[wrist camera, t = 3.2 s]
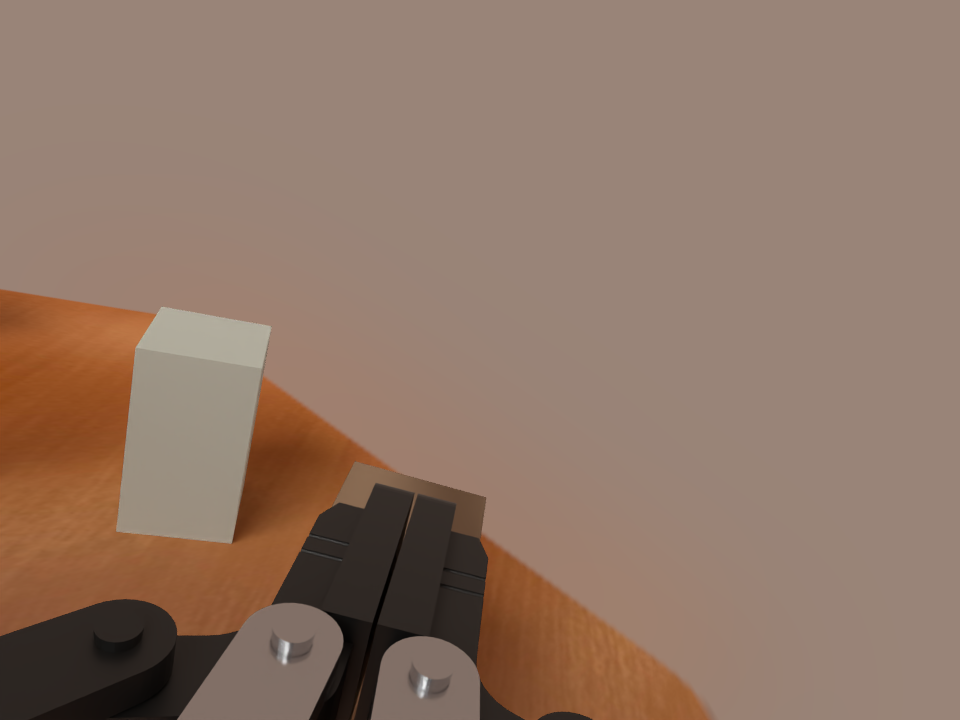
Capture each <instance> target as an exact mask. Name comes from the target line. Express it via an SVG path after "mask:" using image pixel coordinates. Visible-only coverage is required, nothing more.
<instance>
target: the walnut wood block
mask: <svg viewBox="0 0 960 720" xmlns="http://www.w3.org/2000/svg"><path fill="white" fill-rule="evenodd" d="M375 483H379V484H383V485H387V486H391V487H395V488H398V489H402V490H406V491H410V492H414V493H415V494H414V499H413V503H412V507H411V511H410V515H409V520H408V524H409V521H410V518H411V514H412V511H413V508H414V505H415V501H416V498H417V495H418V494H422V495H426V496H430V497H434V498H438V499H442V500H446V501H450V502H453V503H457V505H456V510H455V515H454V519H453V524H452V529H451V531H453V532H457V533H461V534H465V535H469V536H473V537H477V538H479V540H480V538H481V531H482V523H483V516H484V510H485V503H486V497H482V496H479V495H475V494H471V493H468V492H464V491H461V490H457V489H453V488H450V487H446V486H442V485H439V484H435V483H432V482H428V481H424V480H421V479H417V478H414V477H410V476H407V475H403V474H399V473H396V472H392V471H388V470H385V469H381V468H378V467H374V466H370V465H367V464H363V463H360V462H356V461H355V462H354V464H353V466H352V468H351V470H350V472H349V474H348V476H347V478H346V480H345V482H344V484H343V486H342V488H341V490H340V492H339V494H338V496H337V498H336V500H335V502H334V504H333V506H334V505H336V504H337V503H339V502H340V503H344V504H348V505H352V506H355V507H359V508H363V509H364V508H365V506H366V503H367V501H368V499H369V497H370V494H371V492H372V490H373V487H374V485H375ZM333 506H332V507H333ZM408 524H407V527H408ZM406 530H407V528H406ZM405 534H406V532H405ZM404 537H405V536H404ZM364 677H365V676H364ZM363 681H364V679H363ZM362 685H363V682H362ZM361 689H362V686H361ZM361 689H360V692H359V696H358V699H357V702H356V705H355V709H354V712H353V715H352V718H351V720H354V718H355V714H356V710H357V705H358V701H359V697H360V693H361Z"/></svg>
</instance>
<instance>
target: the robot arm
mask: <svg viewBox="0 0 960 720" xmlns="http://www.w3.org/2000/svg"><path fill="white" fill-rule="evenodd" d="M414 494H415V493H414V492H410V491H406V490H402V489H398V488H395V487H391V486H387V485H383V484H379V483H375V485H374V487H373V490H372V492H371V494H370V497H369V499H368V501H367V503H366V506H365V508H364V509H363V508H359V507H355V506H352V505H348V504H344V503H340V502H339V503H337V504H336V505H334V506H333V507H331V508H330V509H328V510H326V511H325V512H323V513H322V514H320V515H319V517H318V518H317V520H316V522H315V524H314V526H313V528H312V530H311V532H310V534H309V537H307V539H306V541H305V543H304V545H303V547H302V549H301V552H299V554H298V556H297V558H296V560H295V562H294V563H293V565H292V567H291V569H290V571H289V573H288V575H287V577H286V578H285V580H284V582H283V584H282V586H281V588H280V590H279V592H278V593H277V595H276V597H275V599H274V601H273V603H272V605H271V606H268V607H265V608H262V609H260V610H259V611H257V612H255V613H254V614H253V615H251V616H250V617H249V618H248V619H247V620H246V622H245V623H244V624H243V626H242V627H241V629H240V630H239V631H236V632H232V633H228V634H222V635H210V636H177V628H176V625H175V622H174V620H173V619H172V617H171V616H170V615H169V614H168V613H167V612H166V611H165V610H163V609H162V608H160V607H158V606H156V605H154V604H151V603H148V602H145V601H139V600H128V599H123V600H112V601H106V602H102V603H98V604H95V605H92V606H89V607H86V608H83V609H80V610H77V611H74V612H71V613H68V614H65V615H62V616H59V617H56V618H53V619H50V620H47V621H44V622H41V623H38V624H35V625H32V626H29V627H26V628H23V629H20V630H17V631H14V632H11V633H9V634H6V635H3V636H0V720H351V718H352V715H353V712H354V709H355V705H356V702H357V699H358V696H359V692H360V689H361V686H362V689H361V693H360V697H359V701H358V705H357V710H356V714H355V718H354V720H524V719H523V718H521V717H519V716H517V715H515V714H514V713H512V712H510V711H509V710H507V709H506V708H504V707H503V706H502V705H500V704H499V703H498V702H497V701H496V700H495V699H494V698H493V697H492V696H491V695H490V694H489V693H488V692H487V690H486V689H485V688H484V686H483V684H482V682H481V681H480V678H479V673H478V670H477V666H476V661H477V651H478V642H479V633H480V625H481V616H482V607H483V596H484V590H485V579H486V572H487V564H488V557H487V555H486V553H485V550H484V548H483V546H482V544H481V542H480V540H479V538H477V537H473V536H469V535H465V534H461V533H457V532H453V531H451V529H452V524H453V519H454V515H455V510H456V505H457V503H453V502H450V501H446V500H442V499H438V498H434V497H430V496H426V495H422V494H418V495H417V498H416V501H415V505H414V508H413V511H412V514H411V518H410V521H409V524H408V520H409V515H410V511H411V507H412V503H413V499H414ZM407 524H408V527H407ZM406 528H407V530H406ZM405 532H406V534H405ZM404 536H405V537H404ZM364 676H365V677H364ZM363 679H364V681H363ZM362 682H363V685H362ZM538 720H592V719H590V718H588V717H586V716H583V715H580V714H576V713H572V712H554V713H550V714H547V715H545V716H543V717H541V718H539V719H538Z"/></svg>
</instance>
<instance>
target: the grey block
mask: <svg viewBox="0 0 960 720" xmlns="http://www.w3.org/2000/svg"><path fill="white" fill-rule="evenodd" d="M270 333H271V326H267V325H261V324H256V323H249V322H244V321H239V320H233V319H228V318H222V317H217V316H211V315H206V314H200V313H194V312H189V311H183V310H178V309H172V308H166V307H161V309H160V310H159V312H158V314H157V315H156V317H155V318H154V320H153V321H152V323H151V325H150V326H149V328H148V329H147V331H146V332H145V334H144V336H143V337H142V339H141V340H140V342H139V343H138V345H137V346H136V349H135V359H134V368H133V378H132V387H131V397H130V406H129V416H128V425H127V434H126V444H125V453H124V463H123V472H122V482H121V491H120V501H119V510H118V520H117V529H116V532H126V533H135V534H145V535H154V536H164V537H173V538H183V539H192V540H202V541H212V542H221V543H231V544H232V540H233V536H234V531H235V526H236V521H237V516H238V511H239V507H240V502H241V497H242V492H243V487H244V482H245V476H246V471H247V465H248V459H249V453H250V448H251V442H252V436H253V430H254V425H255V419H256V413H257V407H258V402H259V396H260V390H261V384H262V379H263V373H264V367H265V361H266V356H267V350H268V344H269V338H270Z"/></svg>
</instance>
